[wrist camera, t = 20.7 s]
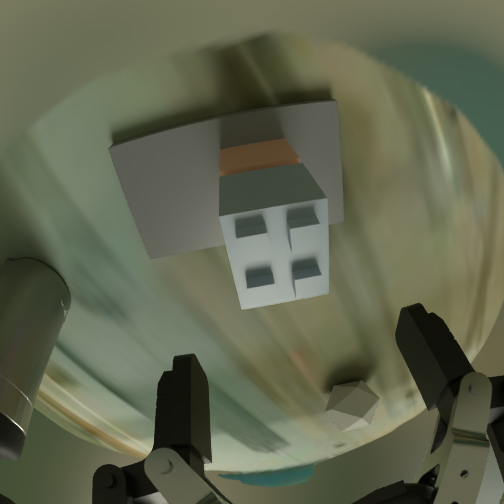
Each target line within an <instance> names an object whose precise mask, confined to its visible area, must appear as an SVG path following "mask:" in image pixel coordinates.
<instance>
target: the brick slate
mask: <svg viewBox="0 0 504 504" xmlns="http://www.w3.org/2000/svg"><path fill="white" fill-rule="evenodd" d="M219 219H220V224H221V228H222V232H223V236H224V240H225V244H226V248H227V252H228V256H229V260H230V265H231V269H232V273H233V277H234V281H235V285H236V289H237V292H238V296H239V300H240V304H241V308H242V310H243V309H249V308H255V307H261V306H267V305H272V304H278V303H283V302H288V301H293V300H299V299H304V298H309V297H315V296H320V295H324V294H329V232H328V200H327V197H326V195H325V194H324V192H323V191H322V189H321V188H320V187H319V185H318V184H317V182H316V181H315V179H314V178H313V177H312V175H311V174H310V172H309V171H308V170H307V168H306V167H305V166H304V164H303V163H297V164H290V165H283V166H277V167H271V168H265V169H259V170H253V171H247V172H241V173H236V174H231V175H225V176H220V177H219Z"/></svg>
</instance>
